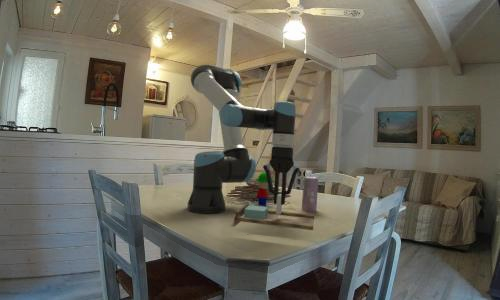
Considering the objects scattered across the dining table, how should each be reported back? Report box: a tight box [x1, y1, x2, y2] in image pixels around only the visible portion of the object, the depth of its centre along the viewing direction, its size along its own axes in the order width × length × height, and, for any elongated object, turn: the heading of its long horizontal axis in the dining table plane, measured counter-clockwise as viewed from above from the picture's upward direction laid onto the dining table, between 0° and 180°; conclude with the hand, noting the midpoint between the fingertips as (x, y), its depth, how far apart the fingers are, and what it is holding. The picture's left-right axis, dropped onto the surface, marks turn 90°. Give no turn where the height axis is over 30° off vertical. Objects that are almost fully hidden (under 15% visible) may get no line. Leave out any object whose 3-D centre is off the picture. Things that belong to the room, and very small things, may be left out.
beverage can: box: [301, 176, 319, 213], centre depth 122 cm, size 6×6×15 cm
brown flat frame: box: [233, 203, 315, 230], centre depth 104 cm, size 26×16×4 cm, turn 76°
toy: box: [255, 171, 275, 207], centre depth 131 cm, size 8×8×15 cm
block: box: [244, 204, 269, 220], centre depth 106 cm, size 7×7×3 cm
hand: (278, 213), depth 104 cm, fingers closed
